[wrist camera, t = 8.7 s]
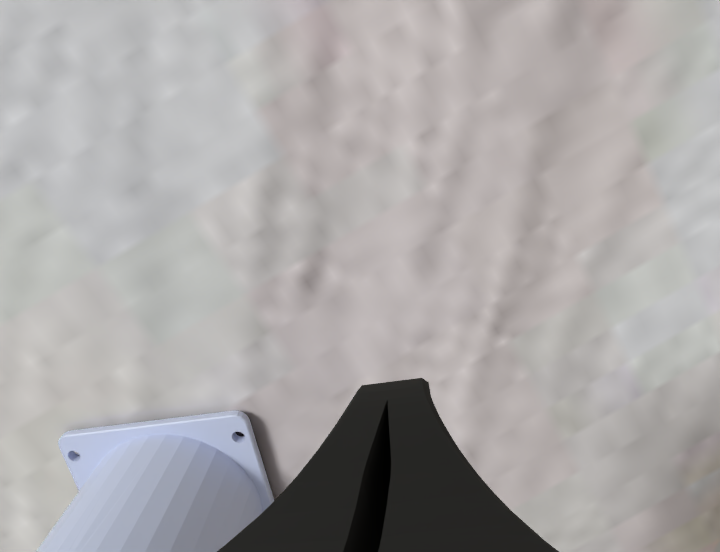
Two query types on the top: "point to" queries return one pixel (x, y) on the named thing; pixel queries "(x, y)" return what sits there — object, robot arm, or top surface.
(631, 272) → the top surface
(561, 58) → the top surface
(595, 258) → the top surface
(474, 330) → the top surface
